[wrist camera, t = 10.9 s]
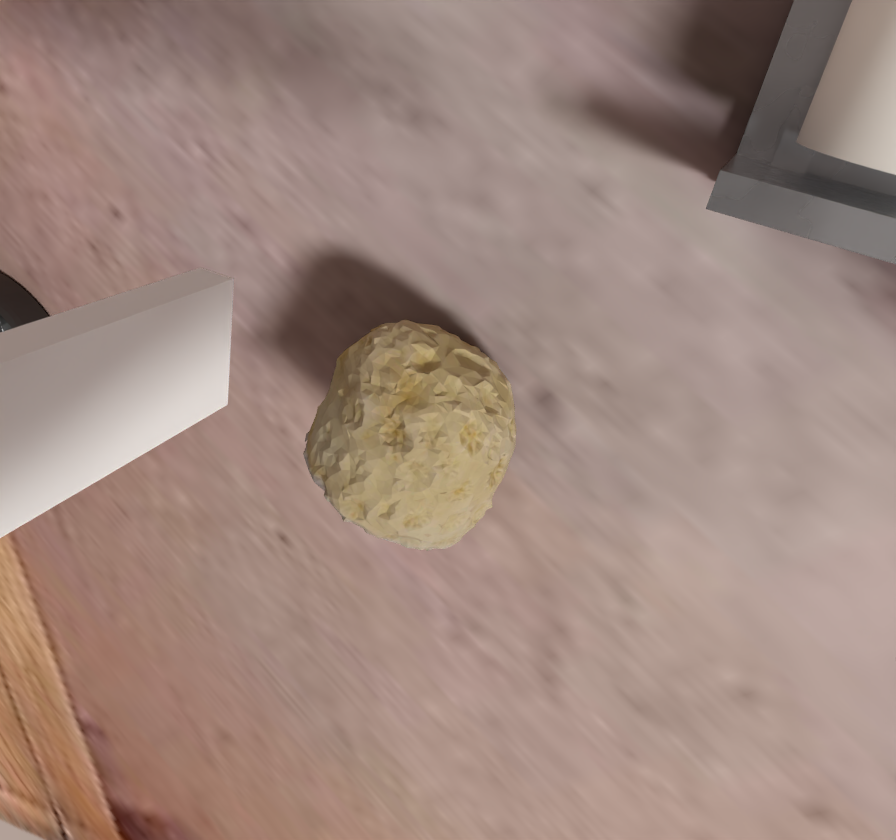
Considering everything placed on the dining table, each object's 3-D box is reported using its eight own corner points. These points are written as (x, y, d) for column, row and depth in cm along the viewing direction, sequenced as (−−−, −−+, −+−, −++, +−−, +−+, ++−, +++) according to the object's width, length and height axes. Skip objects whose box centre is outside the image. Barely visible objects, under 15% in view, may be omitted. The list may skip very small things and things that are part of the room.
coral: (243, 472, 37) (271, 368, 28) (388, 365, 42) (447, 251, 34) (379, 619, 36) (449, 555, 27) (509, 489, 41) (601, 404, 33)
